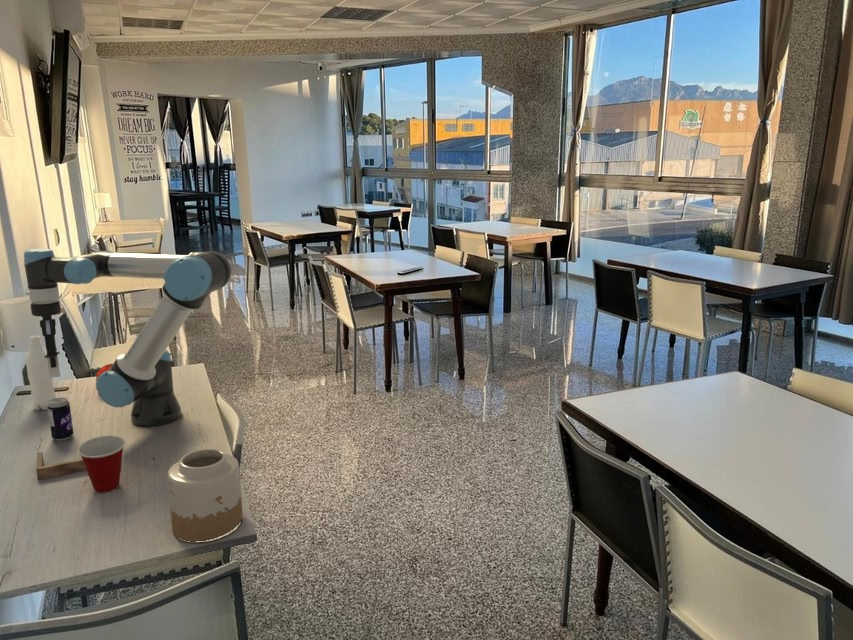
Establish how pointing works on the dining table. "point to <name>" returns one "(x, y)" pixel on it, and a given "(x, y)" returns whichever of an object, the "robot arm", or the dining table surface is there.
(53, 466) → the corral
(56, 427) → the beverage can
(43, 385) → the water bottle
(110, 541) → the dining table surface
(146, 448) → the dining table surface
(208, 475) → the vase
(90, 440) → the plastic cup
